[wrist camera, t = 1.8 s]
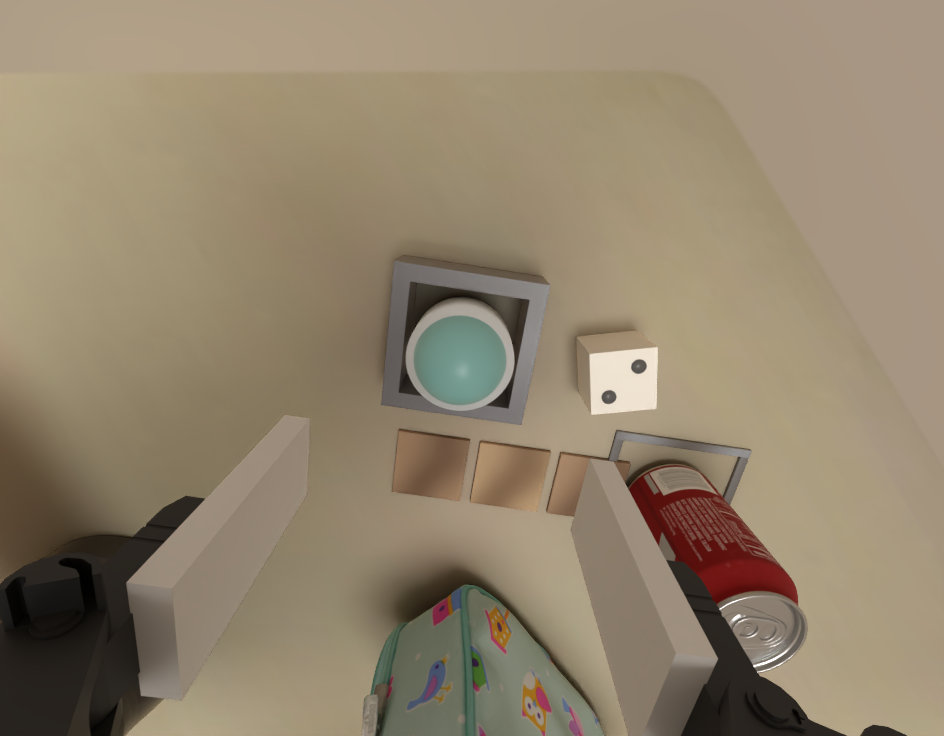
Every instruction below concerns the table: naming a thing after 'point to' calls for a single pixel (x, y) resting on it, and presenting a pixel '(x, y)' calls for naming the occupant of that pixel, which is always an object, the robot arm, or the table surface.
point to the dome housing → (473, 279)
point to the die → (617, 372)
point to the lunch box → (471, 677)
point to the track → (518, 469)
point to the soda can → (723, 561)
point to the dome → (460, 354)
